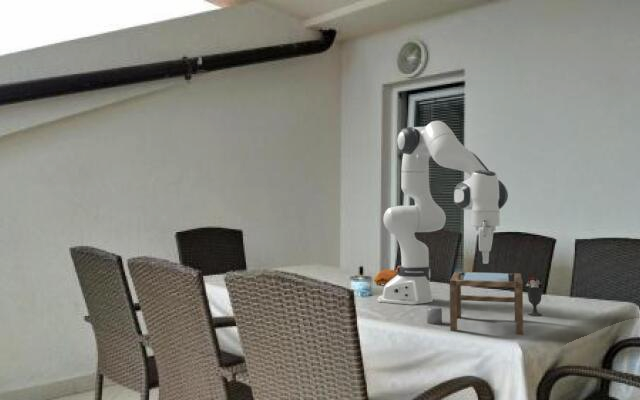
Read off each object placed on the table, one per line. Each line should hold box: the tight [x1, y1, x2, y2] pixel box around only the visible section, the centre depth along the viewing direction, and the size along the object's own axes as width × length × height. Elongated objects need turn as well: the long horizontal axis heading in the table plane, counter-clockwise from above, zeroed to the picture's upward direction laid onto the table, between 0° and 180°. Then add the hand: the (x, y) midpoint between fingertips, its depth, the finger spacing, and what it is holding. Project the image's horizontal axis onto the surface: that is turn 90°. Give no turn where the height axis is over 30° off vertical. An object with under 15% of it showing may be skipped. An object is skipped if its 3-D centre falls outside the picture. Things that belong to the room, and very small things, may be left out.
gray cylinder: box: [426, 306, 443, 325], centre depth 201 cm, size 5×5×5 cm
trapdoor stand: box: [449, 271, 524, 335], centre depth 196 cm, size 22×22×16 cm
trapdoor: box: [462, 271, 510, 281], centre depth 197 cm, size 14×18×2 cm
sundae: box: [524, 272, 545, 317], centre depth 212 cm, size 7×7×15 cm
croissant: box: [374, 269, 398, 286], centre depth 289 cm, size 14×16×8 cm
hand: (485, 263), depth 192 cm, fingers closed
